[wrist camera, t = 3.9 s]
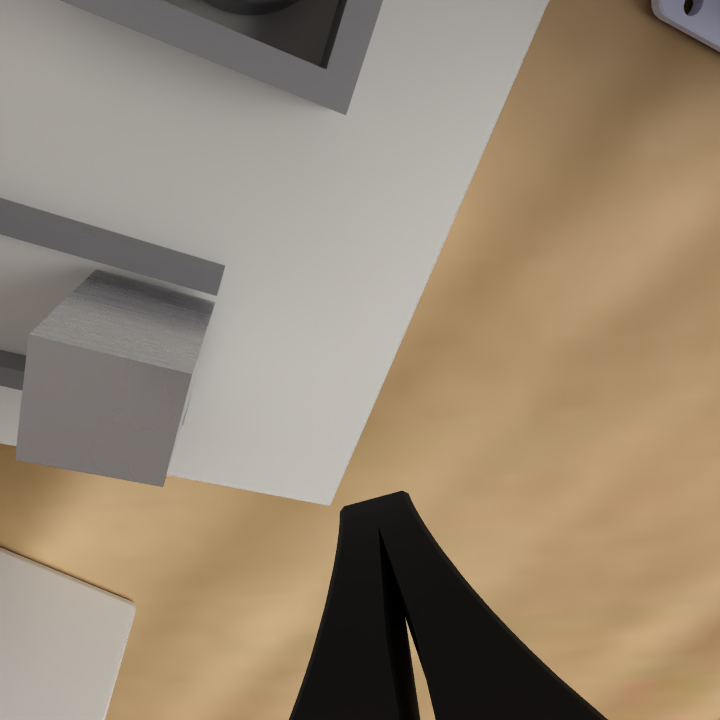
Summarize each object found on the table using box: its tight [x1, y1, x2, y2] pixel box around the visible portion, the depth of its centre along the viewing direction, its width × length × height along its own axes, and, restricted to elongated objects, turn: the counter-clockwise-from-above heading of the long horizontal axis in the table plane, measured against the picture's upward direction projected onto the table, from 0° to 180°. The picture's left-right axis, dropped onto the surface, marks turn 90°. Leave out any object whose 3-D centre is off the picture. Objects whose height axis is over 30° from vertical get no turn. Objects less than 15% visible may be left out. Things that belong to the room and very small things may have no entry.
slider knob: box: [15, 269, 215, 487], centre depth 13 cm, size 3×3×4 cm
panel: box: [0, 0, 549, 506], centre depth 12 cm, size 18×20×4 cm
